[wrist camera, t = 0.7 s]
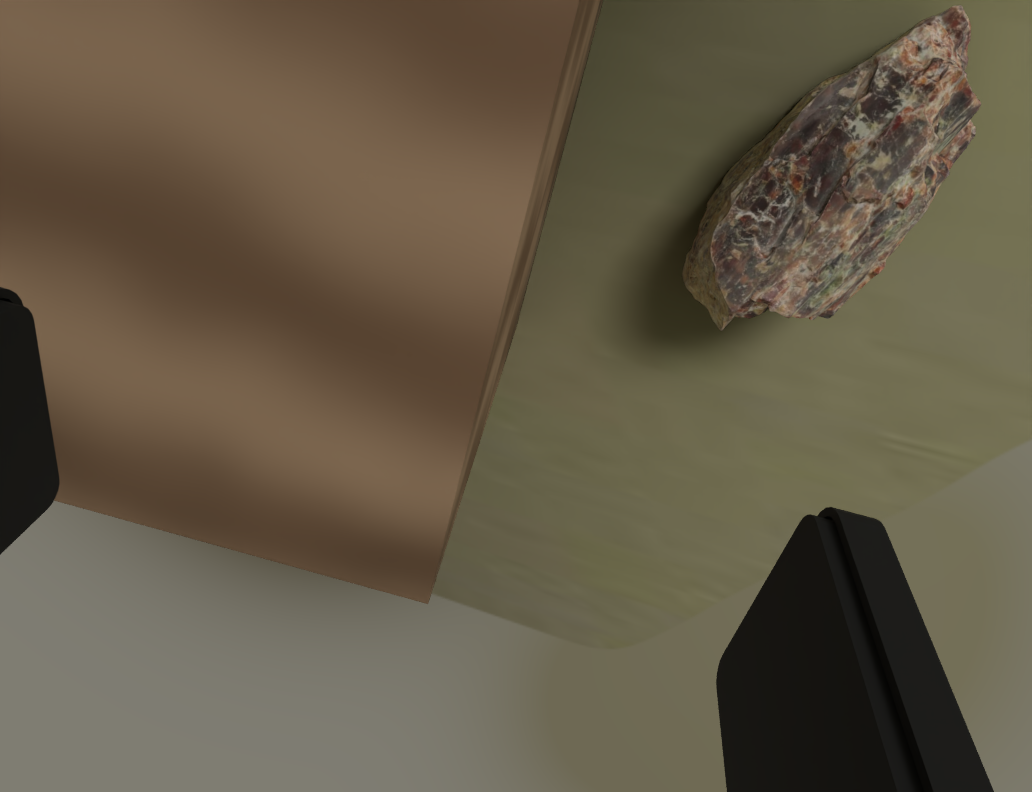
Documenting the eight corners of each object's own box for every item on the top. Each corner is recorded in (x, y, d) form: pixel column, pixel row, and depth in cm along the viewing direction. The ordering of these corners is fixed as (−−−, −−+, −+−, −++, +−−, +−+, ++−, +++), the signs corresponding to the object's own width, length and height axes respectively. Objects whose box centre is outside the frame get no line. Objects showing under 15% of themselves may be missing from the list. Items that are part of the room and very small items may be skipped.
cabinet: (257, -204, 27) (-247, -412, 11) (629, -99, 27) (620, -167, 12) (240, 253, 36) (-47, 472, 21) (515, 329, 36) (428, 604, 21)
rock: (669, 346, 29) (951, 370, 27) (689, 25, 23) (1053, 13, 21) (687, 280, 35) (920, 295, 32) (706, 9, 29) (992, -1, 27)
